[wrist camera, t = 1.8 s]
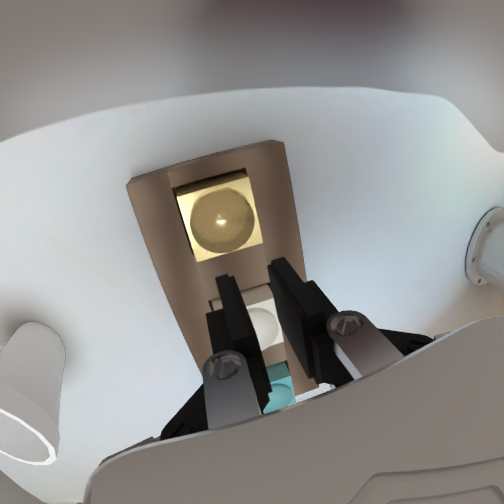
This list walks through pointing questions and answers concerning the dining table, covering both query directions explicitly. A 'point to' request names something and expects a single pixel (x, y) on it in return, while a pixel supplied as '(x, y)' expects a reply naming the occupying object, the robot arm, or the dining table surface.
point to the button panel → (234, 263)
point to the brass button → (219, 215)
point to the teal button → (279, 387)
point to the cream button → (260, 314)
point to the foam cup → (31, 394)
